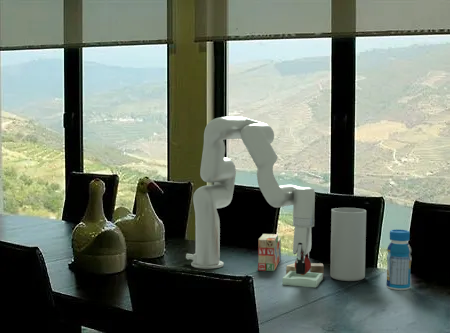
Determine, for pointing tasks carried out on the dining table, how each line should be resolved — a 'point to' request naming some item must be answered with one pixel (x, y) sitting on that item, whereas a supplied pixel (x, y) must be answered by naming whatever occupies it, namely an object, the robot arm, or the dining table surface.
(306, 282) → the dish
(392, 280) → the beverage bottle
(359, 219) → the cylinder vase
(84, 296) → the dining table surface
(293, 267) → the beech block
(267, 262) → the stack of blocks
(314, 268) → the walnut block
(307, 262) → the red round fruit
